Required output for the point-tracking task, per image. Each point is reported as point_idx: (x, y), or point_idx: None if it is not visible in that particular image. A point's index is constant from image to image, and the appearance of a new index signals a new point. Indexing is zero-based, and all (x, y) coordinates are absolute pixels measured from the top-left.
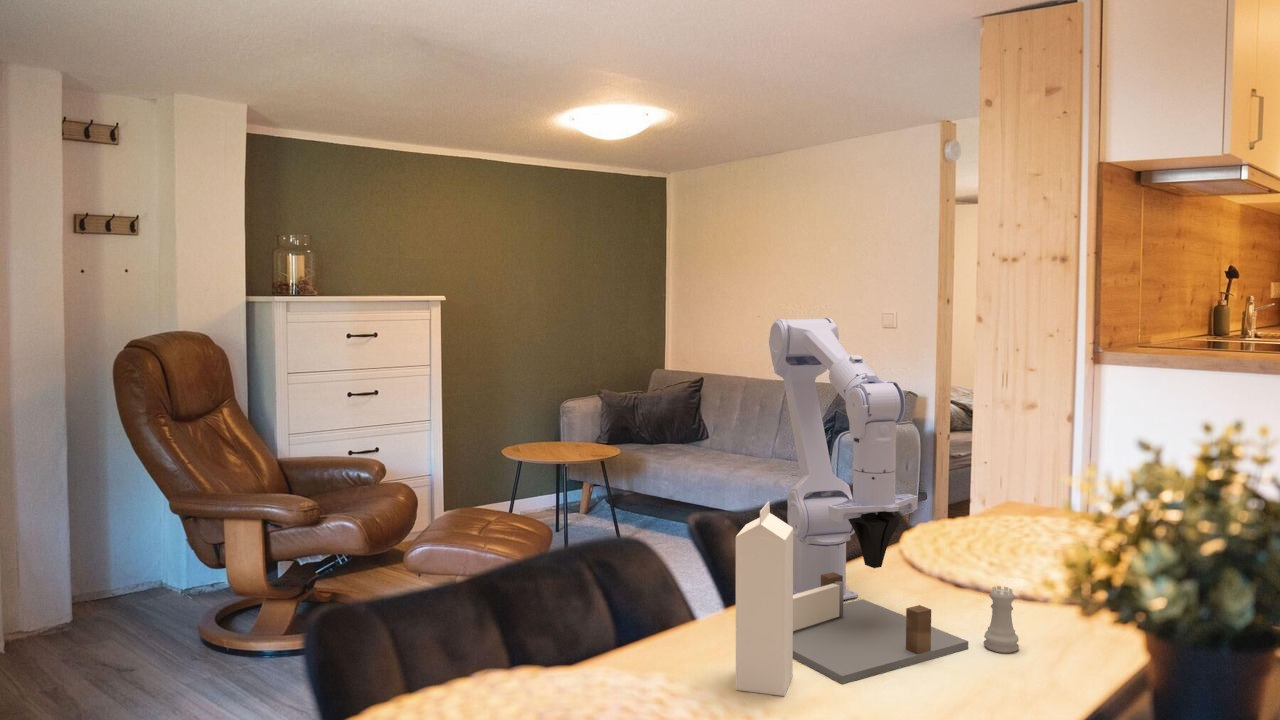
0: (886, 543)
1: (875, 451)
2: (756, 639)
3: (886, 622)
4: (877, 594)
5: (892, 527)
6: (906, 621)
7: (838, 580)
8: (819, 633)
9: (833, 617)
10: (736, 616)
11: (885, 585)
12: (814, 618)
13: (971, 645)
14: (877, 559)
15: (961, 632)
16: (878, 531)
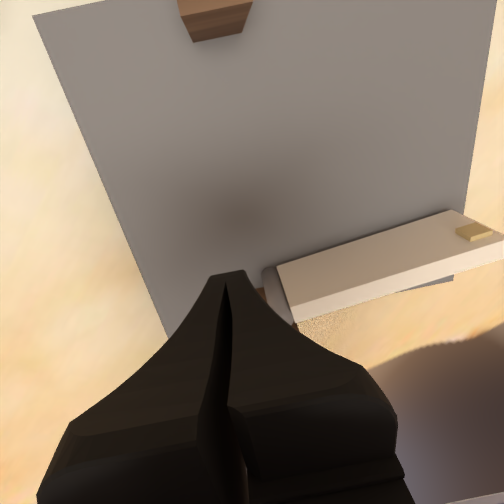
0: (189, 328)
1: None
2: None
3: (189, 218)
4: (114, 370)
5: (145, 394)
6: (247, 13)
7: None
8: (361, 206)
9: (293, 261)
10: None
11: (78, 401)
12: (354, 247)
13: (23, 42)
14: (238, 282)
15: (15, 138)
16: (283, 359)
